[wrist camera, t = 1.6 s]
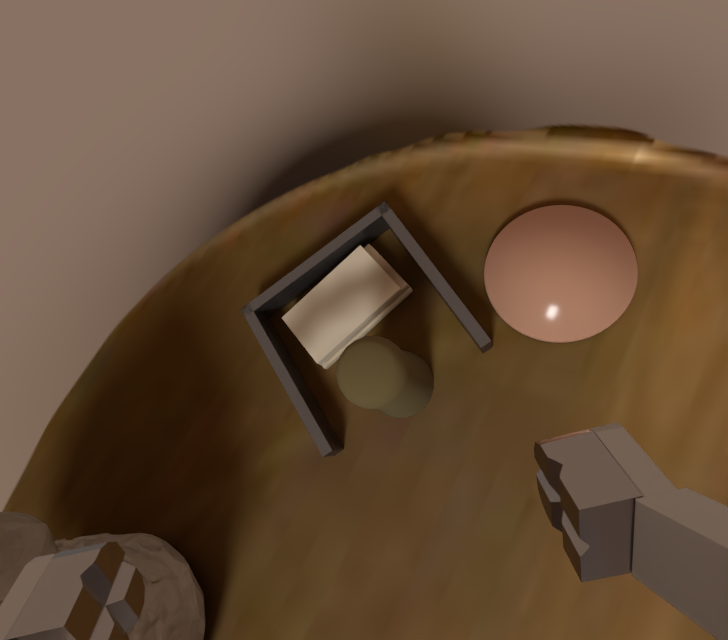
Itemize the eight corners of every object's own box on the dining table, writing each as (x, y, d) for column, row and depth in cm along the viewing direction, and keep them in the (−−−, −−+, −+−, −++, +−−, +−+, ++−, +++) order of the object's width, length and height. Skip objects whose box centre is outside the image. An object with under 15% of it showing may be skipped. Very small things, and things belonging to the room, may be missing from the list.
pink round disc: (629, 202, 40) (631, 198, 40) (641, 342, 38) (644, 340, 37) (483, 215, 44) (483, 211, 43) (485, 344, 41) (485, 342, 41)
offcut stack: (414, 291, 45) (407, 282, 42) (328, 369, 45) (316, 366, 43) (374, 249, 47) (366, 238, 44) (293, 325, 48) (279, 318, 45)
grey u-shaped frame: (492, 346, 41) (491, 340, 38) (334, 455, 43) (322, 456, 40) (392, 214, 47) (384, 200, 44) (256, 316, 48) (240, 309, 46)
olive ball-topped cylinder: (385, 339, 44) (347, 312, 34) (445, 367, 42) (424, 347, 32) (356, 399, 44) (309, 389, 33) (415, 430, 42) (384, 430, 31)
